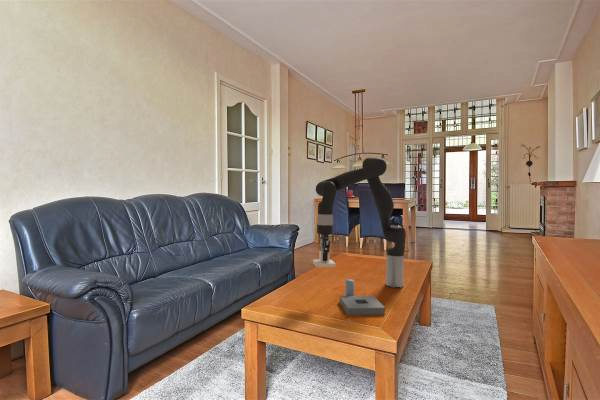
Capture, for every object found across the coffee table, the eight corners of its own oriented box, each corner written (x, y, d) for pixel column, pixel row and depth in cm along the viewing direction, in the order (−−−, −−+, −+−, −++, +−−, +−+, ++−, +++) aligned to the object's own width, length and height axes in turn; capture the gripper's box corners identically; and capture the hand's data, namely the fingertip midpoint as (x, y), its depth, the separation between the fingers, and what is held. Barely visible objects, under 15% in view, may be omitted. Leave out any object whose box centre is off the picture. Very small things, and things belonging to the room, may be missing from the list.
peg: (344, 297, 162) (344, 279, 162) (352, 297, 163) (352, 279, 162) (346, 300, 158) (346, 281, 158) (354, 300, 159) (355, 281, 158)
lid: (313, 262, 160) (313, 249, 159) (331, 262, 161) (331, 249, 160) (316, 266, 151) (316, 252, 150) (335, 266, 152) (335, 252, 152)
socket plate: (339, 302, 155) (339, 296, 155) (372, 301, 156) (372, 295, 156) (348, 315, 139) (348, 308, 139) (384, 314, 141) (384, 307, 140)
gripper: (336, 225, 149) (335, 263, 149) (329, 222, 163) (328, 257, 163) (319, 225, 148) (318, 263, 148) (314, 222, 162) (313, 257, 162)
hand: (324, 259), depth 156 cm, fingers closed on lid, 4 cm apart
